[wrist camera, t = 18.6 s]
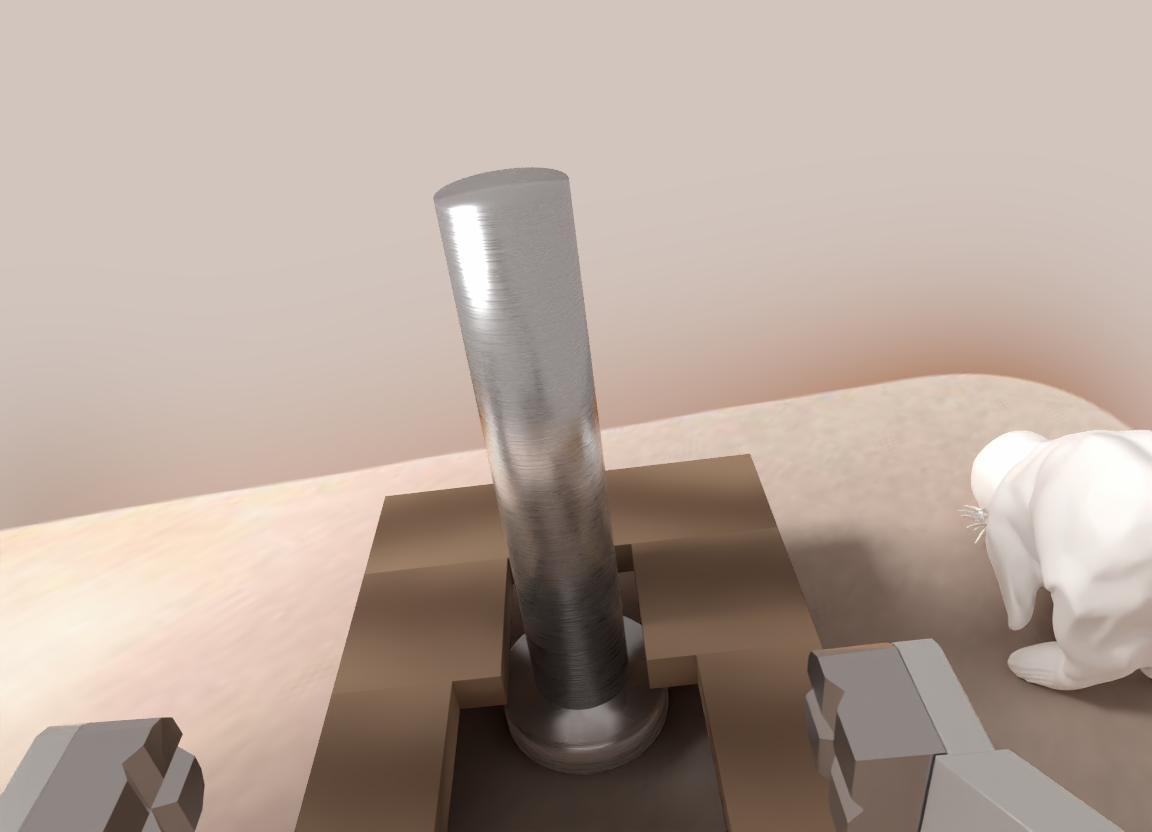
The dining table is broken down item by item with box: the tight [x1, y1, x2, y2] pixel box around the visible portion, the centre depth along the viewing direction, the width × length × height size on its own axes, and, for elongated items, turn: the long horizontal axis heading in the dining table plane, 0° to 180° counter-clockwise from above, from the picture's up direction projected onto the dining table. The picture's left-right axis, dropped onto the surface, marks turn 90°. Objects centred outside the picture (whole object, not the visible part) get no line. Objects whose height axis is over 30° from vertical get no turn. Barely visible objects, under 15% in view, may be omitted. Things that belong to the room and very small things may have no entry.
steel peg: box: [434, 168, 669, 775], centre depth 24 cm, size 6×6×18 cm
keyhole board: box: [295, 454, 837, 832], centre depth 25 cm, size 19×14×5 cm
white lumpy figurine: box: [958, 430, 1152, 690], centre depth 28 cm, size 6×8×12 cm
